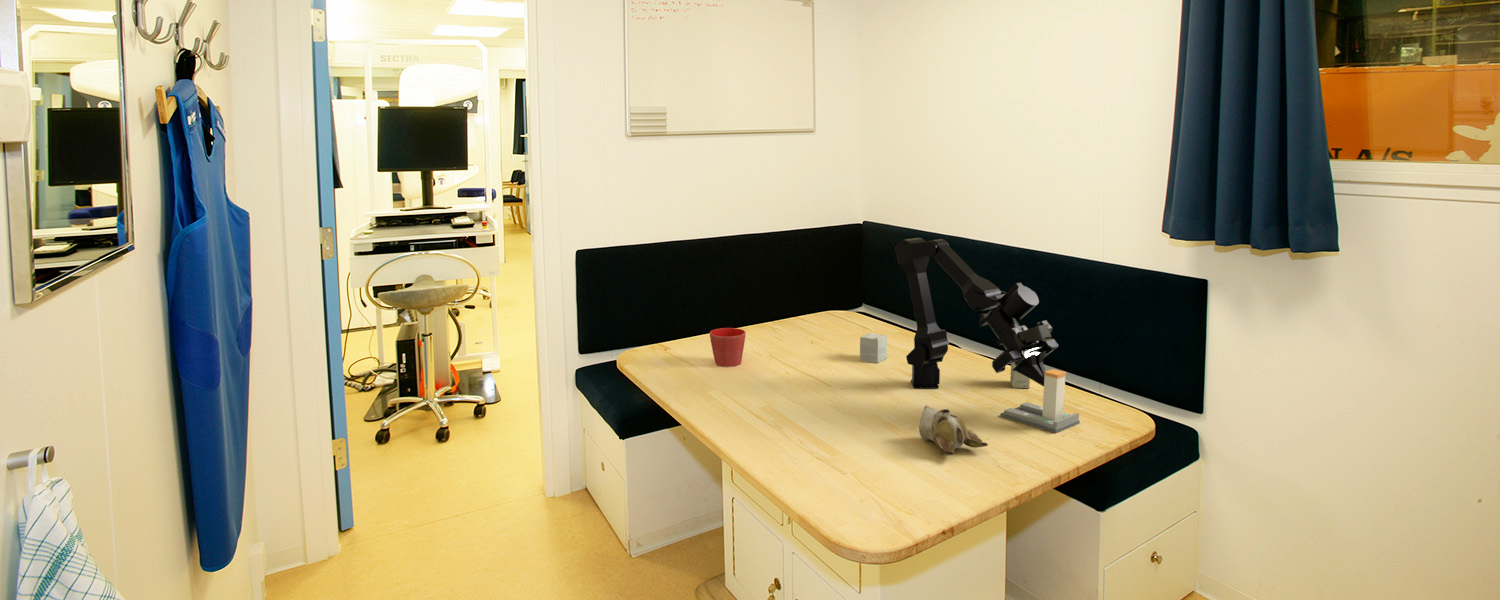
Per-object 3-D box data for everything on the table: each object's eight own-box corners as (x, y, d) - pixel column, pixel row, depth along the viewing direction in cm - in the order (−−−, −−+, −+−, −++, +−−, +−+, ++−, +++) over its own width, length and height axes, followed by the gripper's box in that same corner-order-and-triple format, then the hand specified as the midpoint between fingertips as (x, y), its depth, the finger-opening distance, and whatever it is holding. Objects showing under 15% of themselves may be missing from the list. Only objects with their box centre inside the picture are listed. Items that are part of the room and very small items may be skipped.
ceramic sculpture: (944, 394, 179) (992, 418, 166) (942, 430, 181) (989, 456, 168) (906, 402, 174) (952, 428, 162) (904, 439, 177) (949, 467, 164)
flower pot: (753, 361, 240) (752, 329, 238) (733, 370, 231) (732, 338, 229) (724, 356, 246) (723, 325, 244) (703, 365, 237) (702, 333, 235)
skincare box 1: (868, 356, 243) (869, 332, 242) (887, 358, 240) (887, 335, 238) (859, 360, 238) (859, 336, 237) (877, 363, 235) (878, 339, 233)
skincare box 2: (1030, 388, 209) (1032, 343, 207) (1012, 388, 210) (1014, 343, 208) (1026, 381, 215) (1029, 337, 213) (1009, 380, 216) (1011, 336, 214)
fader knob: (1041, 419, 184) (1044, 371, 182) (1050, 416, 186) (1052, 369, 184) (1054, 423, 182) (1057, 375, 180) (1063, 420, 184) (1066, 372, 182)
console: (999, 416, 190) (1000, 406, 189) (1024, 407, 196) (1024, 397, 195) (1055, 433, 178) (1056, 423, 178) (1079, 423, 184) (1080, 413, 184)
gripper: (1005, 316, 179) (1046, 375, 173) (1053, 304, 190) (1093, 359, 184) (974, 344, 187) (1013, 401, 181) (1022, 331, 198) (1060, 384, 192)
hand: (1046, 385), depth 184 cm, fingers closed, pressing on fader knob
